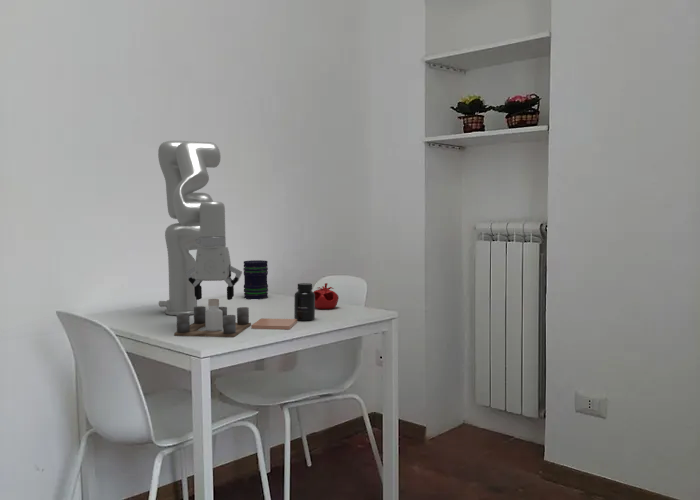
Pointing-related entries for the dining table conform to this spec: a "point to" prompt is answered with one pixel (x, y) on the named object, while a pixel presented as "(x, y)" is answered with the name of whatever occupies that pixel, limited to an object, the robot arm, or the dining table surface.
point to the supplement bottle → (304, 303)
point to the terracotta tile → (274, 323)
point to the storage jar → (255, 279)
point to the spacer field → (228, 331)
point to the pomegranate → (325, 298)
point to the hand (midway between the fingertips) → (214, 299)
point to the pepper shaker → (213, 316)
